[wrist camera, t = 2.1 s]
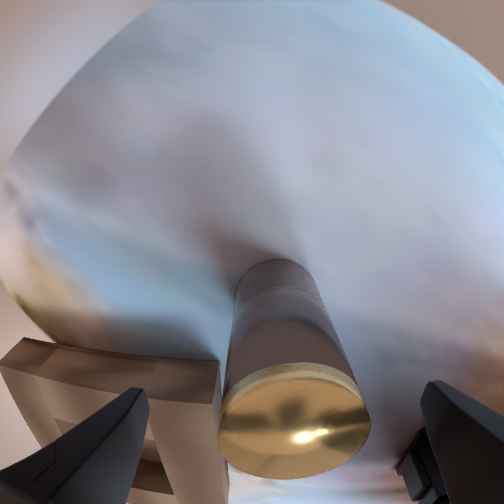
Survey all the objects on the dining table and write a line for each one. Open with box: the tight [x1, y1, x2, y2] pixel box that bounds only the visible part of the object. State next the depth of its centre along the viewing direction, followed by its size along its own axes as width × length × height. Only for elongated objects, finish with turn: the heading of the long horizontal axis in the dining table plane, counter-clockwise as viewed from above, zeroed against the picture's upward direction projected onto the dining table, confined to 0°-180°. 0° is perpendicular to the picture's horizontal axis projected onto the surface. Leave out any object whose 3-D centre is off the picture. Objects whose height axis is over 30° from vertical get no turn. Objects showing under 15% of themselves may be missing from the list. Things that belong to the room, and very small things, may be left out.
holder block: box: [0, 337, 229, 504], centre depth 17 cm, size 14×14×4 cm
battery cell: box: [217, 259, 371, 479], centre depth 11 cm, size 4×4×9 cm
